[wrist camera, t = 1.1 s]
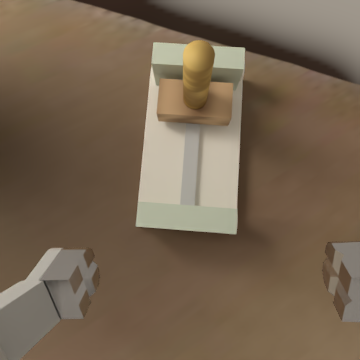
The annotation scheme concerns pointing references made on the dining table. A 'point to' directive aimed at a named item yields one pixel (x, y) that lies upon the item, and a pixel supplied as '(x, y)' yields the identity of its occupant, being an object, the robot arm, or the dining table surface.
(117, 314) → the dining table surface
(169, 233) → the dining table surface
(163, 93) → the carriage
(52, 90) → the dining table surface
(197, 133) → the track
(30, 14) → the dining table surface
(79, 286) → the robot arm
